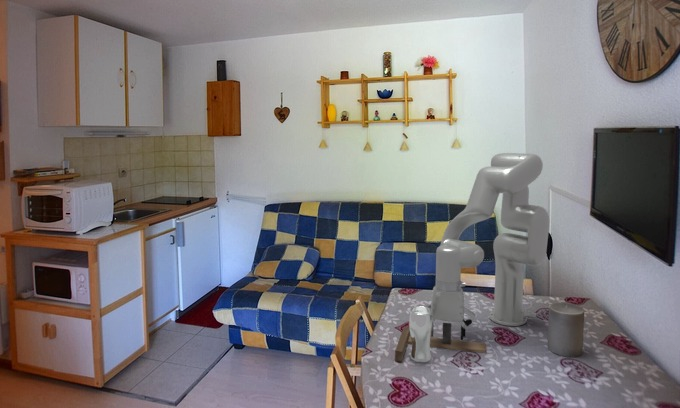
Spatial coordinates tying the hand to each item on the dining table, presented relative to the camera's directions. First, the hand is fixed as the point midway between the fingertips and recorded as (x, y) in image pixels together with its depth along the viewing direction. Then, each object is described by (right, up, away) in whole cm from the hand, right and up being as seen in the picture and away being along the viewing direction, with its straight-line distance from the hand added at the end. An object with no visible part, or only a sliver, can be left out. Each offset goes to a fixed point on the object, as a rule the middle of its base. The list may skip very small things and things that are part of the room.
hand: (446, 336), depth 139 cm
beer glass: (-10, -4, -7) cm, 13 cm away
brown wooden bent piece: (-3, -4, -5) cm, 7 cm away
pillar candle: (+35, -3, -4) cm, 36 cm away
